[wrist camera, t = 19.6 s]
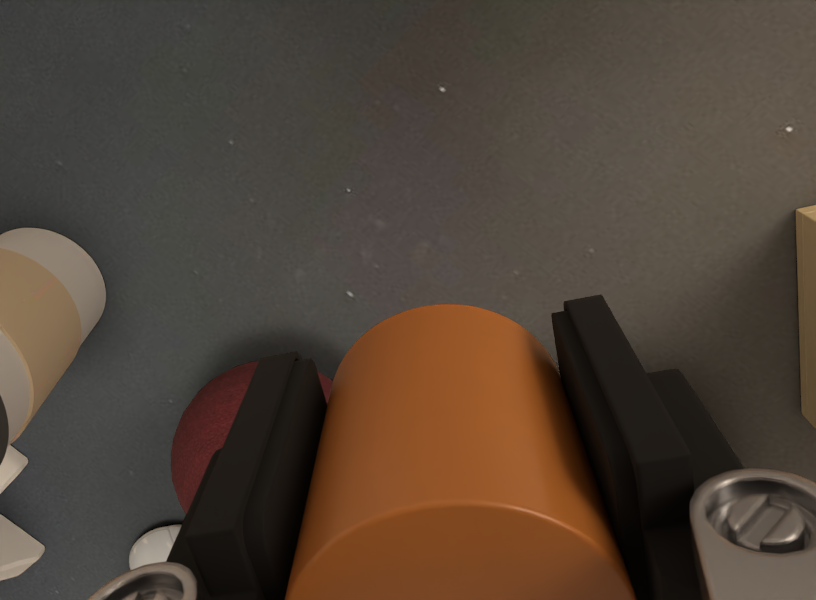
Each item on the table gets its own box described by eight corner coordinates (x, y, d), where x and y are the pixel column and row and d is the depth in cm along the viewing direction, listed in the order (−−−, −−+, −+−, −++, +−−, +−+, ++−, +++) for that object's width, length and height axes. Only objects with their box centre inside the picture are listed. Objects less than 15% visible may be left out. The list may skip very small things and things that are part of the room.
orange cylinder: (549, 282, 10) (628, 475, 6) (575, 485, 12) (654, 746, 8) (304, 325, 11) (234, 533, 7) (358, 517, 12) (327, 783, 8)
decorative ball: (176, 347, 42) (107, 452, 32) (346, 310, 40) (324, 408, 31) (234, 487, 45) (187, 616, 36) (391, 457, 44) (383, 582, 35)
